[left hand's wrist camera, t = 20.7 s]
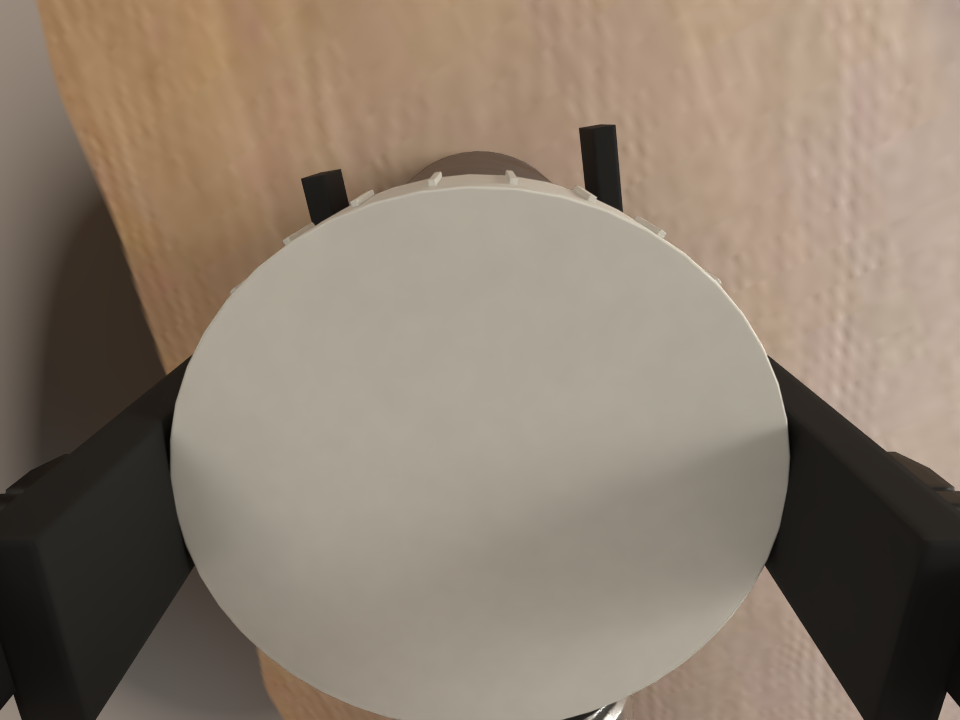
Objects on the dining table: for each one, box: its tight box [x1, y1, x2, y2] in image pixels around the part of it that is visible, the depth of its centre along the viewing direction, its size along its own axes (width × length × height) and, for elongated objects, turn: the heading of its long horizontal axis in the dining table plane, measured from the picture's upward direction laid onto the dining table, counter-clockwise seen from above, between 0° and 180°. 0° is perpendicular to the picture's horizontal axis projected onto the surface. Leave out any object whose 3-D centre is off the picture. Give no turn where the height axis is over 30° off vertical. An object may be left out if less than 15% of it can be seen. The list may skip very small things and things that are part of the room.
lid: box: [170, 170, 790, 720], centre depth 11 cm, size 10×10×2 cm
